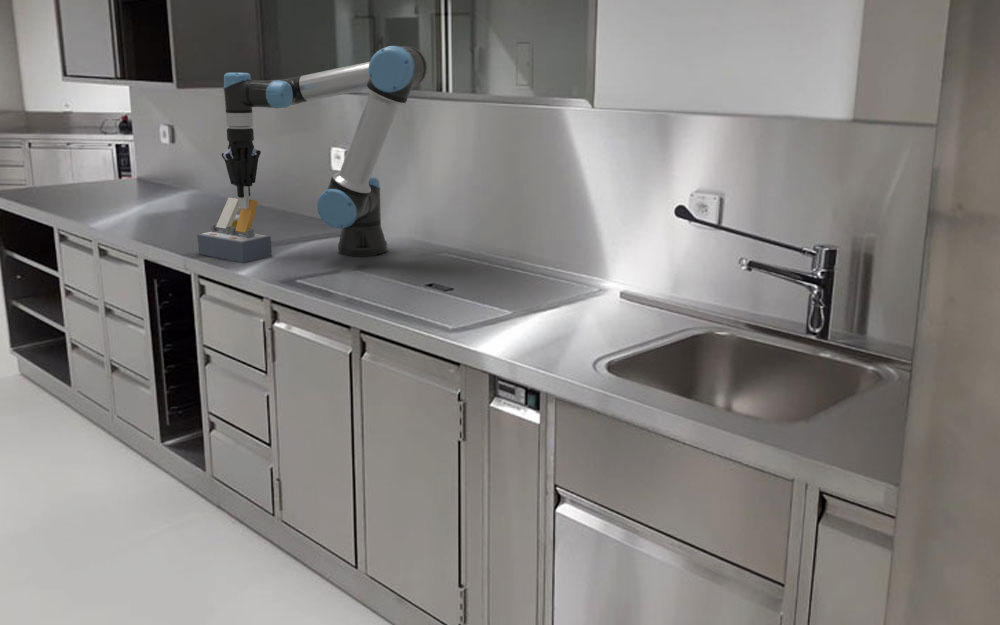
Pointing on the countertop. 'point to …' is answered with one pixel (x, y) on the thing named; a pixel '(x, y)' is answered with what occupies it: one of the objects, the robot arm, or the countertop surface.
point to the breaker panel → (234, 245)
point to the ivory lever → (228, 214)
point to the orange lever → (246, 218)
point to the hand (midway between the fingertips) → (244, 208)
